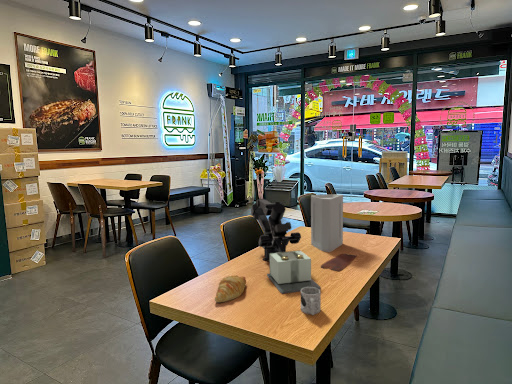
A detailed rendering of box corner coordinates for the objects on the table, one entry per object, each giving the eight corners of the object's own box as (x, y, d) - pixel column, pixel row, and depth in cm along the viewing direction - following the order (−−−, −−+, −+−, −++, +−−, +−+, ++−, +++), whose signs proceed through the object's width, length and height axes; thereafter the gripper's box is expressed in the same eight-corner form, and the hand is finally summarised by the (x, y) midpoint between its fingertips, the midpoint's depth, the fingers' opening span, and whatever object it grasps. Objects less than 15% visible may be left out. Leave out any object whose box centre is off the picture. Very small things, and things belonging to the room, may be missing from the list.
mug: (299, 305, 119) (299, 287, 118) (319, 305, 119) (318, 286, 118) (302, 319, 109) (302, 299, 108) (323, 319, 109) (323, 299, 108)
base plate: (266, 275, 148) (266, 250, 146) (301, 271, 151) (301, 247, 150) (281, 293, 128) (280, 265, 127) (320, 288, 132) (320, 261, 131)
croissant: (223, 315, 120) (232, 298, 117) (201, 299, 123) (209, 282, 120) (249, 291, 139) (257, 276, 136) (230, 277, 142) (237, 262, 140)
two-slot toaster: (269, 273, 147) (269, 253, 146) (300, 270, 150) (300, 250, 149) (278, 284, 135) (277, 262, 134) (311, 280, 139) (311, 258, 137)
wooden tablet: (340, 273, 150) (340, 269, 150) (319, 269, 156) (319, 265, 155) (360, 257, 171) (360, 253, 171) (341, 253, 177) (341, 250, 177)
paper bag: (319, 240, 202) (318, 193, 199) (343, 243, 194) (343, 194, 190) (304, 248, 187) (304, 197, 183) (330, 252, 178) (330, 199, 175)
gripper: (259, 217, 150) (266, 248, 140) (299, 214, 154) (309, 244, 145) (255, 231, 158) (262, 261, 149) (293, 228, 163) (302, 257, 153)
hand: (284, 256), depth 149 cm, fingers closed
